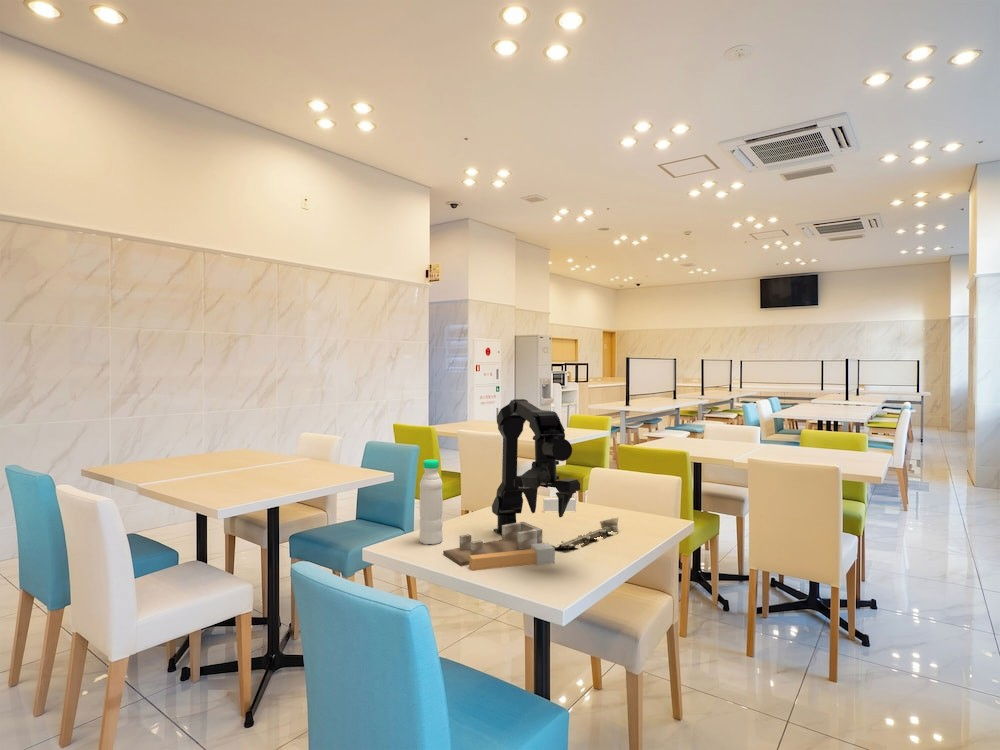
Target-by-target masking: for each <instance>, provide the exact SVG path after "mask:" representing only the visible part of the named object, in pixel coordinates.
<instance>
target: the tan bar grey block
mask: <svg viewBox="0 0 1000 750" xmlns="http://www.w3.org/2000/svg"><path fill="white" fill-rule="evenodd" d="M551 545H552V544H550V543H549V542H542V543H540V544H531V549H528V550H518V551H508V552H499V553H489V554H479V555H469V568H470V570H471V571H477V570H488V569H495V568H496V569H497V568H498V569H499V568H505V567H514V566H516V567H517V566H524V565H533V564H537V565H546V564H547V565H548V564H555V562H556V561H555V559H556V557H555V555H556V554H555V551H556V548H554V547H553V546H554V545H553V546H551Z"/></svg>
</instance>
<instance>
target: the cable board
mask: <svg viewBox="0 0 1000 750" xmlns="http://www.w3.org/2000/svg"><path fill="white" fill-rule="evenodd" d="M540 543H543V529H542V528H540V527H537V526H535V525H532V524H530V523H528V522H525V521H519V522H516V523H512V524H506V525H502V535H501V539H496V540H492V541H487V542H484V540H483V541H482V540H481V539H480V540H473V541H472V535H471V534H470V533H466V534H461V535H459V547H457V548H456V547H455V548H451V549H446V550H443V552H442V554H443V555H444V556H445V557H446V558H448V559H450V560H451V561H453V562H454V563H456V564H458V565H459V566H460V567H463V566H468V565H469V555H479V554H489V553H499V552H508V551H518V550H528V549H531V544H540Z"/></svg>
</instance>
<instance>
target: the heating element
mask: <svg viewBox="0 0 1000 750" xmlns="http://www.w3.org/2000/svg"><path fill="white" fill-rule="evenodd" d="M619 518H620V517H616V518H614V517H613V518H610V519H609V518H608V519H603V520H600V521H599V525H600V527H601V528H602V529H601V528H599V529H596V530H594V531H593V530H592V531H593V532H592V531H588V533H585V534H586V535H585V534H583V536H582V534H579V535H578V536H577V537H575V538H573V539H570V540H568V541H565V542H564V540H561V544H560V543H557V544H556V545H553V544H550V545H551V546H553V547H554V548H555V549H559V550H564V549H566V550H569V549H572V550H576V549H578V548H577V546H579V544H580V548H581V547H582V548H583V547H584V546H585V545H586V544H587V545H588V544H589V543H590V542H591V541H597V540H594V538H597V537H600V536H601V537H603V538H604V539H605V538H606V537H607V535H608V536H612V535H611V534H612V533H611V534H608V532H611V531H613V532H617V533H618V531H619V527H618V523H619ZM597 542H598V541H597ZM583 543H584V544H583ZM576 545H577V546H576Z"/></svg>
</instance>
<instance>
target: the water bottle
mask: <svg viewBox="0 0 1000 750" xmlns="http://www.w3.org/2000/svg"><path fill="white" fill-rule="evenodd" d="M422 465H423V470H424V473H423V475H422V477H421V480H420V481H419V517H420V519H419V542H420V543H421V544H423V545H428V544H432V545H437V544H439V543H442V541H443V540H444V538H443V537H444V535H443V526H444V525H443V505H444V503H443V500H444V499H443V480H442V478H441V476H440V473H439V472H438V470H439V465H440V463H439V460H438V459H425V460H423V463H422Z"/></svg>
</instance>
